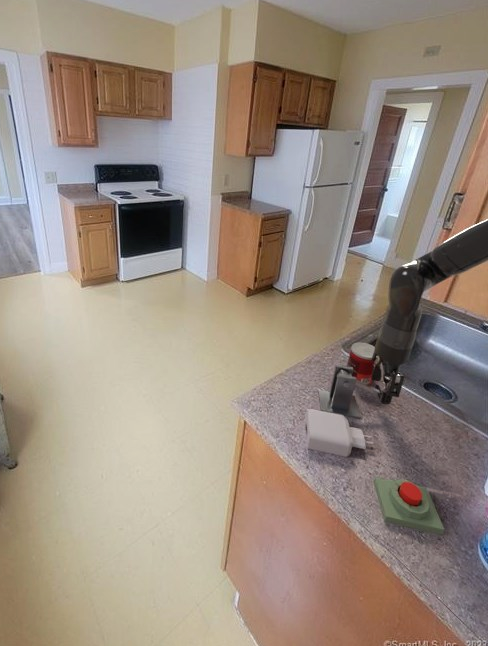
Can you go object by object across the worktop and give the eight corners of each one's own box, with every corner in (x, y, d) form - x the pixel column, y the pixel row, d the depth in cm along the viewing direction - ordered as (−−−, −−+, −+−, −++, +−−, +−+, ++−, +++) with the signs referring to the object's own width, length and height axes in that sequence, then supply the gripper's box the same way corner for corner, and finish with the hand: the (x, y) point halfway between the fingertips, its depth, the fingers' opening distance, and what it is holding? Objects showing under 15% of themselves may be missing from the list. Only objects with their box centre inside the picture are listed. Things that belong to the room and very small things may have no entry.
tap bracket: (353, 398, 92) (362, 365, 87) (360, 420, 85) (369, 385, 80) (317, 392, 94) (324, 359, 89) (320, 413, 86) (328, 378, 82)
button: (415, 489, 65) (418, 483, 64) (422, 508, 62) (425, 502, 61) (396, 485, 66) (398, 479, 65) (402, 503, 62) (404, 497, 62)
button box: (424, 492, 67) (429, 481, 66) (441, 535, 60) (447, 523, 59) (373, 482, 69) (376, 470, 68) (384, 521, 62) (388, 510, 61)
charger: (375, 465, 73) (306, 450, 76) (365, 432, 81) (304, 420, 84) (379, 450, 71) (309, 436, 74) (369, 418, 80) (307, 406, 83)
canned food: (375, 379, 100) (383, 350, 95) (365, 392, 94) (374, 361, 90) (351, 367, 105) (357, 339, 100) (340, 379, 99) (347, 349, 95)
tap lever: (376, 390, 88) (381, 384, 87) (381, 404, 83) (387, 398, 82) (335, 371, 88) (340, 365, 87) (338, 384, 84) (343, 378, 83)
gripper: (424, 359, 71) (404, 414, 77) (401, 326, 84) (386, 375, 90) (387, 354, 73) (371, 408, 79) (371, 322, 86) (358, 371, 92)
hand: (379, 390), depth 85 cm, fingers open, 8 cm apart
